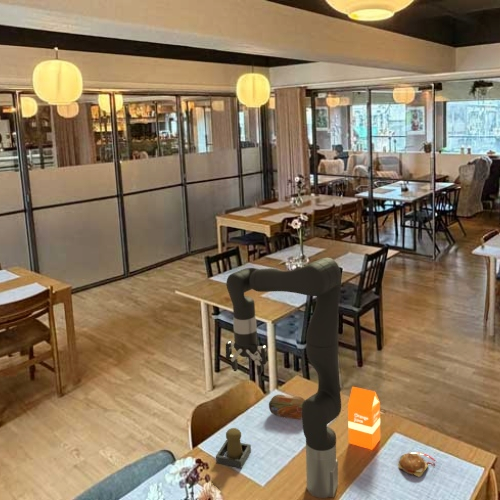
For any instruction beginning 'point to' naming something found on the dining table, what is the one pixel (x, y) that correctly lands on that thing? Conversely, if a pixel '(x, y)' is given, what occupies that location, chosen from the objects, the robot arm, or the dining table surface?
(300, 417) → the tin
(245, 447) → the steel collar
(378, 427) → the orange juice
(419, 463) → the hamburger
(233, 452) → the cork
